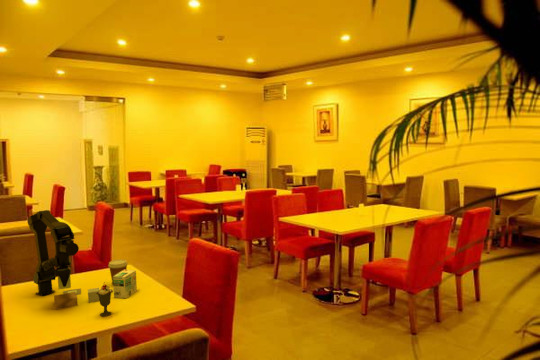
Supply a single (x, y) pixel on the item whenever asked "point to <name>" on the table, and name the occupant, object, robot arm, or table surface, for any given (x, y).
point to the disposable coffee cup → (117, 267)
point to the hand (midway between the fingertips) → (64, 284)
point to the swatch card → (77, 291)
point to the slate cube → (93, 295)
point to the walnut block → (65, 300)
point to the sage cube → (62, 285)
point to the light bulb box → (124, 283)
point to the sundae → (105, 298)
